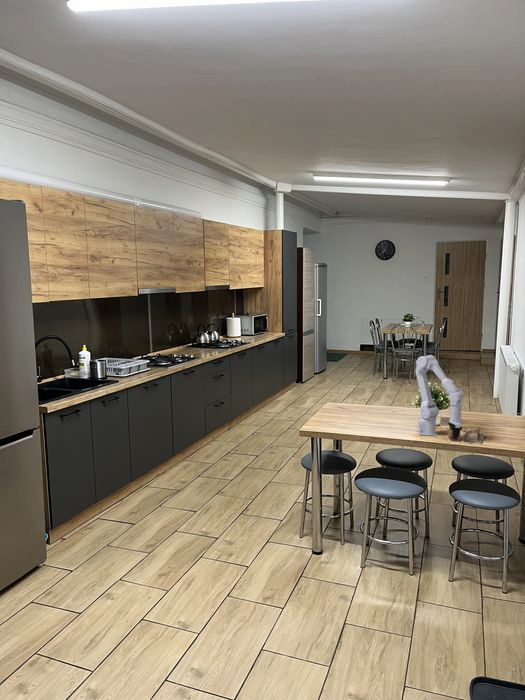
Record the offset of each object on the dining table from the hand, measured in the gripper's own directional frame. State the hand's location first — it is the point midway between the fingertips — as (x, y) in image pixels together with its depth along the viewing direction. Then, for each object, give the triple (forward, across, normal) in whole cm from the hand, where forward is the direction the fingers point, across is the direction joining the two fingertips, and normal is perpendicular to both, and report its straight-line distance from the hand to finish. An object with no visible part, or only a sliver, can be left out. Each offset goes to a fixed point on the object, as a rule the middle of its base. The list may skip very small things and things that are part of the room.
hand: (454, 437), depth 294 cm
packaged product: (+2, +4, -10) cm, 11 cm away
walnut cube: (+1, 0, 0) cm, 1 cm away
